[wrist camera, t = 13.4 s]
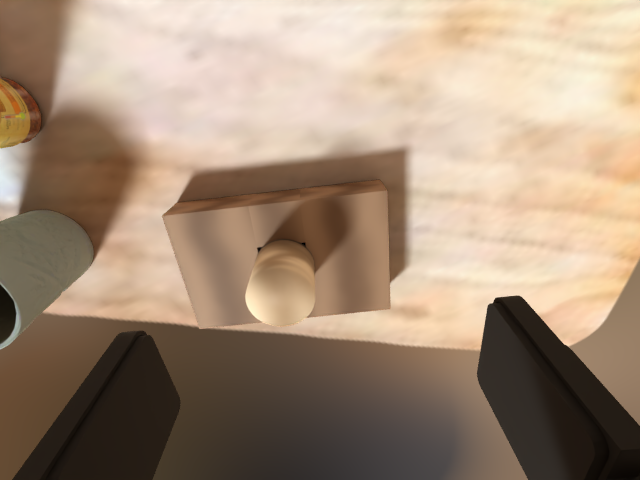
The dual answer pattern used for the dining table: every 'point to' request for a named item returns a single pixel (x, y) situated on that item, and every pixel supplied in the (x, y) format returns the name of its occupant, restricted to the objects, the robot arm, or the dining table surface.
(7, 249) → the grey green cup
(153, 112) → the dining table surface
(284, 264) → the wooden peg
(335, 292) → the walnut slab
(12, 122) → the sauce bottle
